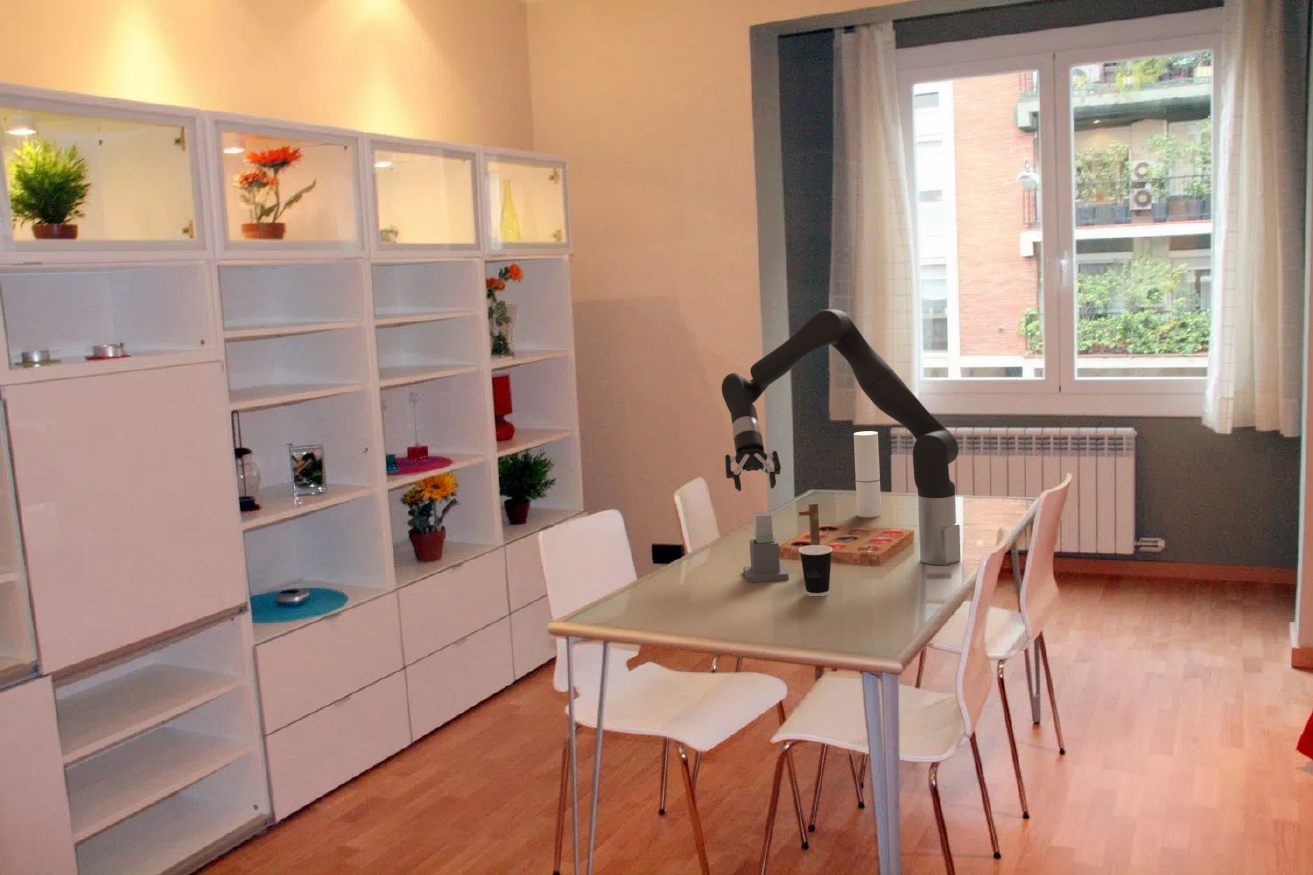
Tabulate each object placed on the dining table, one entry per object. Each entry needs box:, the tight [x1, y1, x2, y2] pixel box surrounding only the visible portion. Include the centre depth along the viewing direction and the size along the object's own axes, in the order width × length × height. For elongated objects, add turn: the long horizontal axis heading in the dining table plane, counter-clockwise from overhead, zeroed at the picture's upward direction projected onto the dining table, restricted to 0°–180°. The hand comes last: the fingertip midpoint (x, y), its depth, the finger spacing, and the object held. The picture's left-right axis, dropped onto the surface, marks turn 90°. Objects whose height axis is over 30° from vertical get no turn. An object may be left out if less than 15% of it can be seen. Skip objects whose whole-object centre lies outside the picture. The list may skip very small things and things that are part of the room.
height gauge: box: [798, 502, 821, 545], centre depth 290 cm, size 6×4×18 cm
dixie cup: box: [798, 544, 833, 597], centre depth 271 cm, size 8×8×11 cm
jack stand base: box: [742, 536, 790, 584], centre depth 290 cm, size 10×10×9 cm
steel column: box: [752, 511, 774, 544], centre depth 289 cm, size 4×4×14 cm
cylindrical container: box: [853, 430, 882, 518], centre depth 346 cm, size 7×7×25 cm
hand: (756, 488), depth 296 cm, fingers open, 8 cm apart
